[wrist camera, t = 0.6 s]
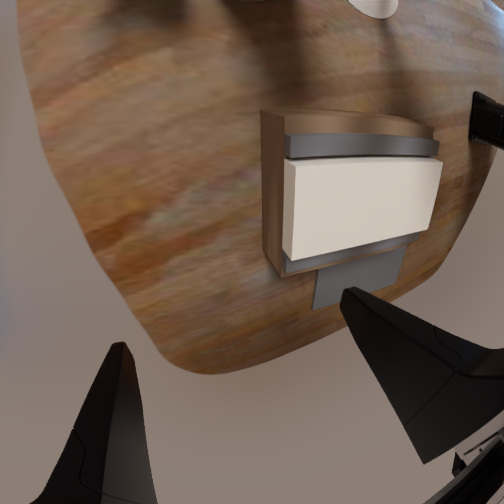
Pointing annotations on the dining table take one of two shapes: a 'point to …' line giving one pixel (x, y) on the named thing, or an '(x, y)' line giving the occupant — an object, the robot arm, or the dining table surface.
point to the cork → (252, 0)
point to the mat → (356, 276)
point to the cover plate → (355, 200)
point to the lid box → (323, 145)
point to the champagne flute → (389, 7)
